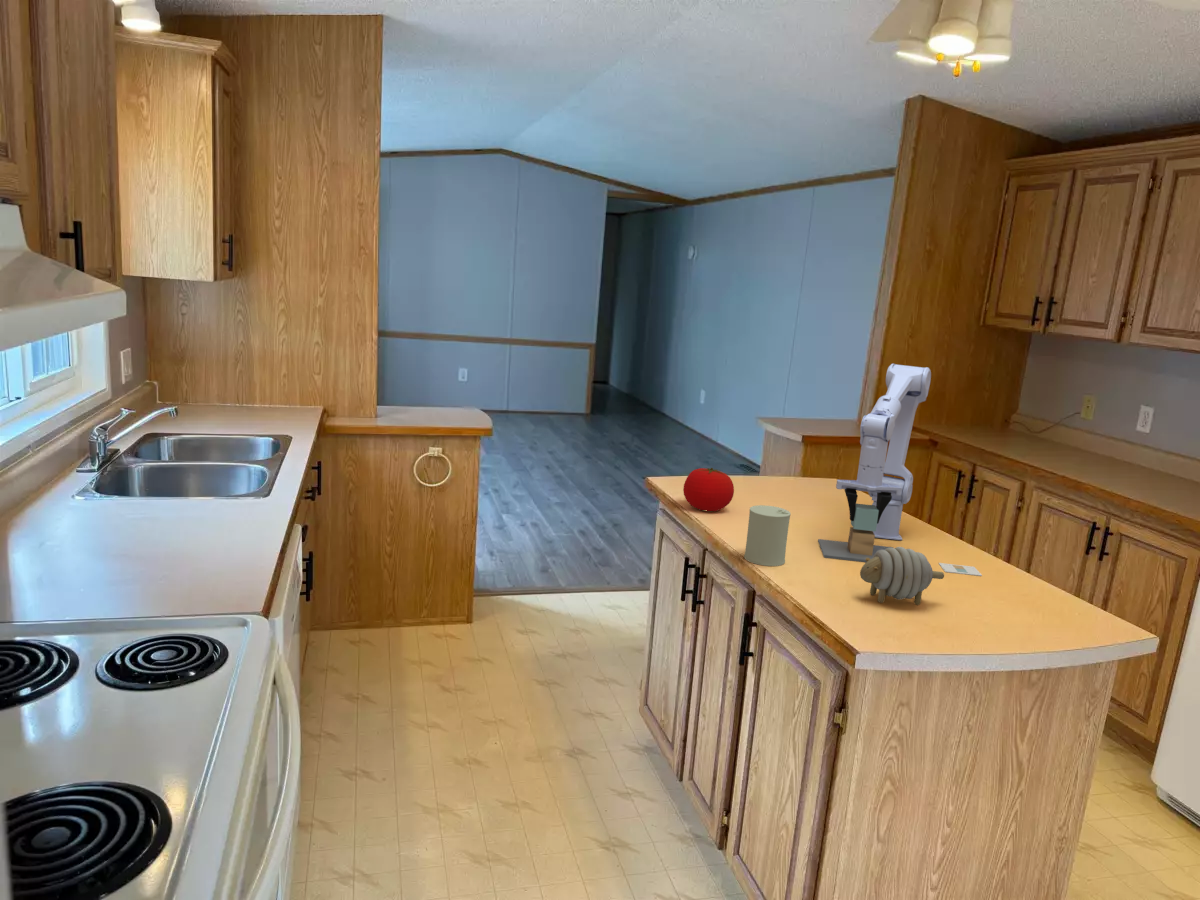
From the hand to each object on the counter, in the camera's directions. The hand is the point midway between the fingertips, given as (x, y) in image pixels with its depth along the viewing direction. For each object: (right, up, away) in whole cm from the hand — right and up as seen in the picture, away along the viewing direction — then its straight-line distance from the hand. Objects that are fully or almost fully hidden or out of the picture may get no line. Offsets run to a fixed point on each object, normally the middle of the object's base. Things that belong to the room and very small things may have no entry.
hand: (863, 521), depth 197 cm
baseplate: (-1, -8, +2) cm, 8 cm away
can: (-25, -8, -8) cm, 28 cm away
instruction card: (+21, -11, -5) cm, 24 cm away
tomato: (-33, 0, +32) cm, 46 cm away
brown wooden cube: (-1, -7, +1) cm, 7 cm away
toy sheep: (-2, -14, -28) cm, 31 cm away
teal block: (0, -1, 0) cm, 2 cm away
